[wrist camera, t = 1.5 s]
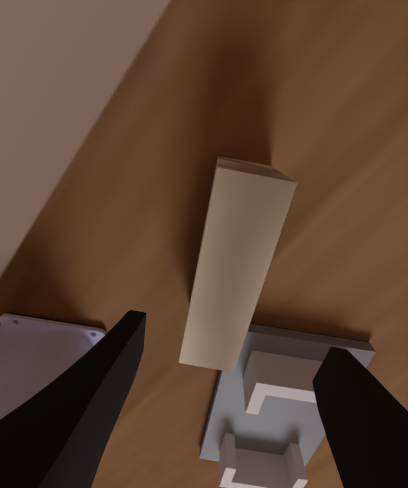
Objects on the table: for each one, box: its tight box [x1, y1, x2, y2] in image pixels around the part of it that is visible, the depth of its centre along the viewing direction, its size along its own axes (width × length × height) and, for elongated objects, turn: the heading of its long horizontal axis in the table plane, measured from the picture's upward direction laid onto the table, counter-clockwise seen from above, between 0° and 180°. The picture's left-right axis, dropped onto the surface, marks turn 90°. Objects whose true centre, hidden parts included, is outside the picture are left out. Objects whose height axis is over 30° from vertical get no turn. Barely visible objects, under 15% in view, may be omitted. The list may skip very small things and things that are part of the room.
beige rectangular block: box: [179, 156, 297, 372], centre depth 16 cm, size 4×12×6 cm, turn 170°
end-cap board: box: [199, 324, 376, 488], centre depth 23 cm, size 12×20×4 cm, turn 172°
